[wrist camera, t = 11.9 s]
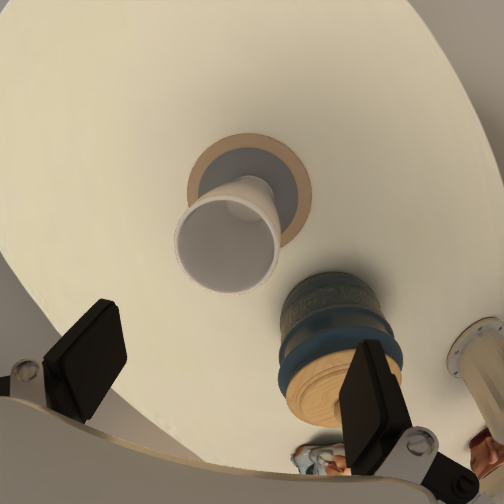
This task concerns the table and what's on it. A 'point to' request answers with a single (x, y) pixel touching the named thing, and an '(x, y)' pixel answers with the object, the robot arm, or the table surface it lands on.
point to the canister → (328, 343)
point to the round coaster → (261, 165)
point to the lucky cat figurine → (321, 460)
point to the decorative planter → (485, 454)
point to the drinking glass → (230, 237)
